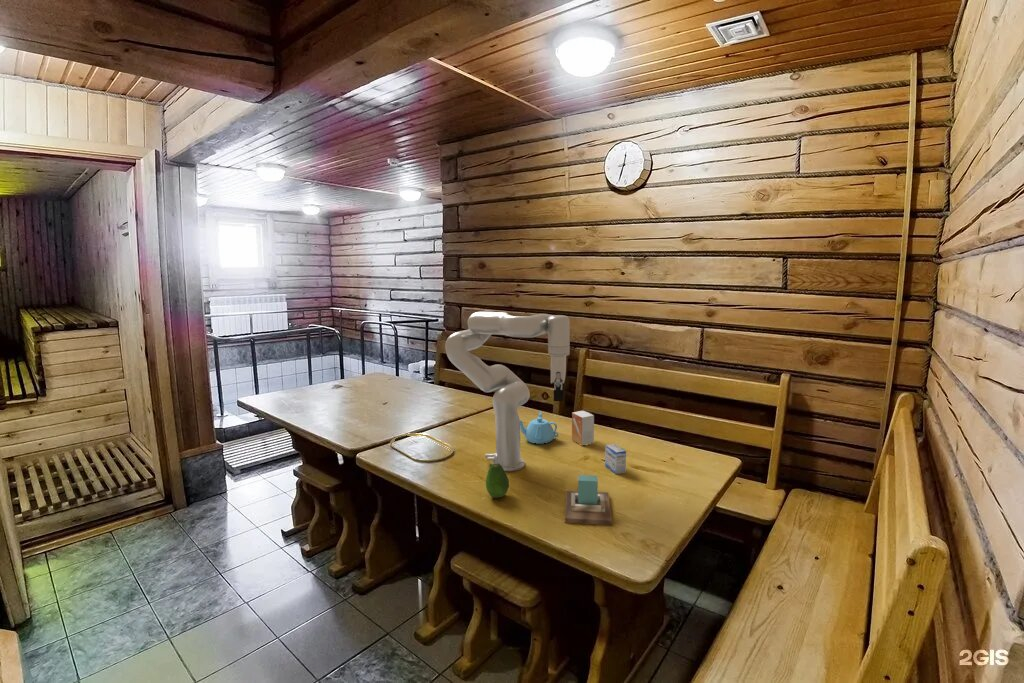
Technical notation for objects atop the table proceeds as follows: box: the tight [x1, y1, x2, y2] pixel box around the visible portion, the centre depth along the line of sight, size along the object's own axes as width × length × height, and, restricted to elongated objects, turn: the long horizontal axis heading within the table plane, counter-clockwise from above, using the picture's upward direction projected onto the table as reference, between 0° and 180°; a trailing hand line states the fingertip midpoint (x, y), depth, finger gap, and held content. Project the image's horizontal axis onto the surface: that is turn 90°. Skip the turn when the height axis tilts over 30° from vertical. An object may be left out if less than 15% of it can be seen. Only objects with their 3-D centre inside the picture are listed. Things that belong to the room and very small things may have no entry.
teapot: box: [520, 411, 559, 445], centre depth 214 cm, size 15×15×10 cm
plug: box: [577, 474, 599, 505], centre depth 154 cm, size 6×4×9 cm, turn 82°
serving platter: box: [389, 432, 455, 463], centre depth 208 cm, size 19×35×2 cm, turn 41°
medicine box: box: [604, 443, 627, 475], centre depth 183 cm, size 8×4×9 cm, turn 21°
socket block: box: [564, 490, 613, 526], centre depth 154 cm, size 14×18×3 cm
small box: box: [571, 410, 595, 446], centre depth 210 cm, size 8×6×13 cm
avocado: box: [485, 463, 510, 499], centre depth 163 cm, size 8×8×12 cm
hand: (558, 397), depth 174 cm, fingers open, 9 cm apart
